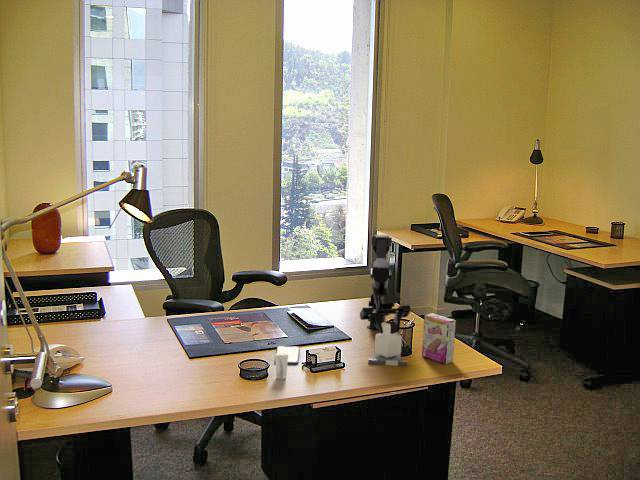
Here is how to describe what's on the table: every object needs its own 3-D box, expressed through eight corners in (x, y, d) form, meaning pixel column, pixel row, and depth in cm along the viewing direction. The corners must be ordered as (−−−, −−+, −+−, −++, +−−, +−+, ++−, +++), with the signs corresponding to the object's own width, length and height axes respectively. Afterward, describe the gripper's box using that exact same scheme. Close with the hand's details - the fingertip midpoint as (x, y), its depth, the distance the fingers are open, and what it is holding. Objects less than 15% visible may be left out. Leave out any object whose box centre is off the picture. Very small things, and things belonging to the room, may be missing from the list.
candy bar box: (421, 356, 265) (423, 315, 261) (429, 353, 268) (431, 312, 265) (445, 365, 257) (448, 322, 253) (453, 362, 260) (456, 319, 257)
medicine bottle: (388, 348, 268) (389, 318, 265) (401, 354, 262) (403, 323, 260) (374, 352, 264) (375, 321, 261) (387, 358, 258) (388, 327, 256)
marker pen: (368, 362, 258) (368, 357, 257) (406, 364, 256) (407, 359, 256) (368, 363, 256) (368, 359, 255) (407, 366, 255) (407, 361, 254)
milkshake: (272, 375, 243) (272, 347, 241) (287, 375, 243) (288, 347, 241) (272, 380, 238) (272, 352, 236) (288, 380, 239) (288, 352, 237)
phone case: (298, 366, 253) (300, 350, 269) (298, 362, 253) (300, 346, 268) (273, 366, 253) (276, 349, 269) (273, 362, 253) (276, 345, 268)
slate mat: (374, 351, 268) (375, 351, 268) (400, 353, 267) (400, 352, 267) (374, 361, 259) (374, 360, 259) (400, 362, 258) (400, 361, 258)
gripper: (363, 286, 259) (371, 324, 251) (410, 283, 264) (420, 321, 256) (356, 300, 268) (363, 337, 260) (402, 298, 273) (411, 334, 265)
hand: (390, 332), depth 260 cm, fingers closed on medicine bottle, 6 cm apart
